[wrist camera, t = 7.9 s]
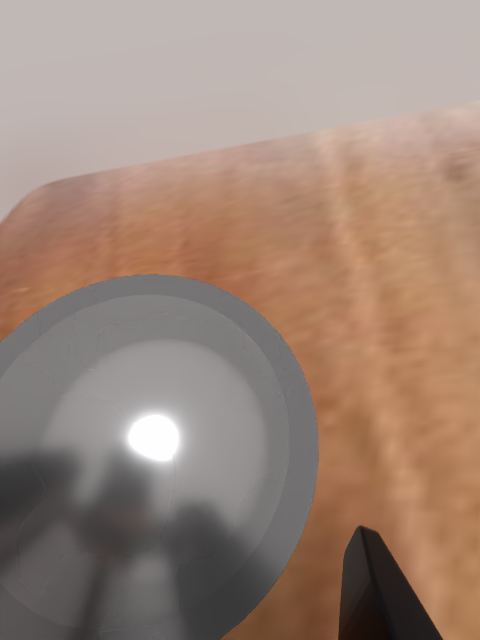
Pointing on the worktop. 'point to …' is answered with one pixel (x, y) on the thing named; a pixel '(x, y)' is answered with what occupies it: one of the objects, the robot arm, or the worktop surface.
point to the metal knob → (148, 463)
